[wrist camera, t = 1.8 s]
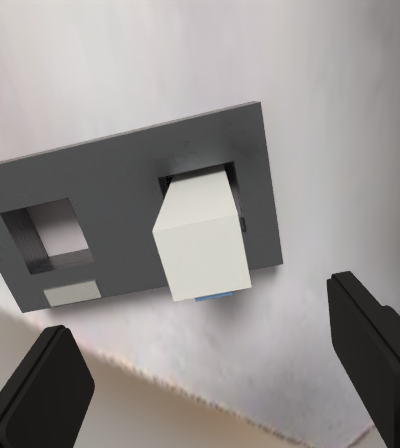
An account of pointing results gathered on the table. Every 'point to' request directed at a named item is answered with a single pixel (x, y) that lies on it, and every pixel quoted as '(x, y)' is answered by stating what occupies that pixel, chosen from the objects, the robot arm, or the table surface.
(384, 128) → the table surface
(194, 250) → the plug
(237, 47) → the table surface
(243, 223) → the jack panel
